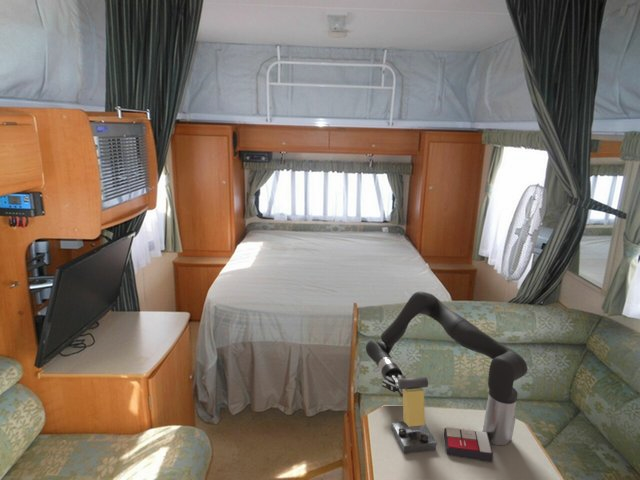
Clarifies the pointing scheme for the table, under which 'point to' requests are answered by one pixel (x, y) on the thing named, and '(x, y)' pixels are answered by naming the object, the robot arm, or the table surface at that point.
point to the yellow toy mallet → (413, 401)
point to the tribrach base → (413, 438)
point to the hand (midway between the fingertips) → (405, 395)
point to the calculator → (468, 444)
